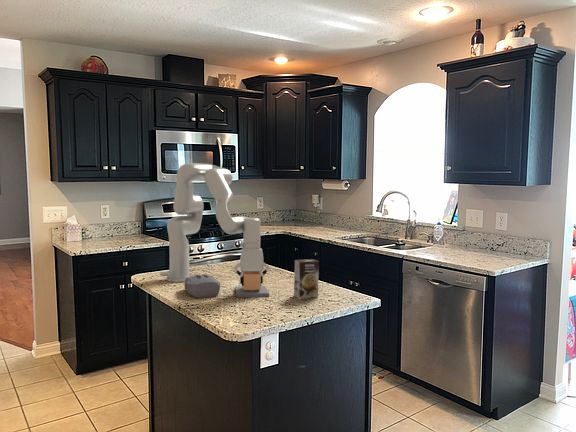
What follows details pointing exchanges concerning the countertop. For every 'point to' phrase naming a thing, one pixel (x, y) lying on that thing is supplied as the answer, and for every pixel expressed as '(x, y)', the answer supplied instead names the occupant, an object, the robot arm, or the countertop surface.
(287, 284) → the countertop surface
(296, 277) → the coffee box
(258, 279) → the orange cube cubby
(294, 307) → the countertop surface
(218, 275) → the countertop surface
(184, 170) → the robot arm
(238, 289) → the gray plate with knob
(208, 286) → the soft grey pack
